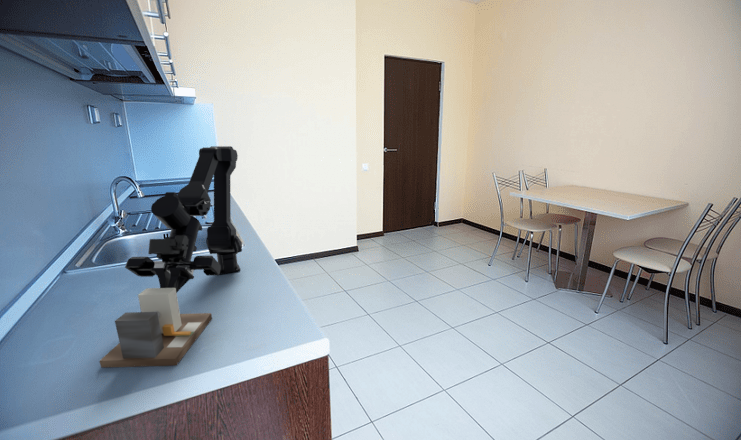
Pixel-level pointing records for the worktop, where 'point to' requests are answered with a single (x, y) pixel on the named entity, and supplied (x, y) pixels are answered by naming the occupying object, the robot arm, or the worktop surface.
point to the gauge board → (166, 352)
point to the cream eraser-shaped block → (162, 305)
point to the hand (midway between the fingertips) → (164, 303)
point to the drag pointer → (169, 331)
